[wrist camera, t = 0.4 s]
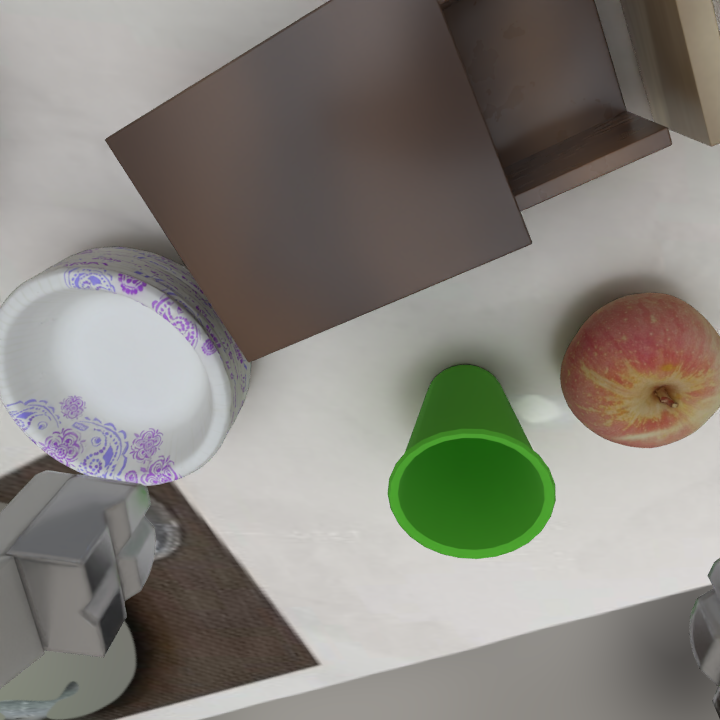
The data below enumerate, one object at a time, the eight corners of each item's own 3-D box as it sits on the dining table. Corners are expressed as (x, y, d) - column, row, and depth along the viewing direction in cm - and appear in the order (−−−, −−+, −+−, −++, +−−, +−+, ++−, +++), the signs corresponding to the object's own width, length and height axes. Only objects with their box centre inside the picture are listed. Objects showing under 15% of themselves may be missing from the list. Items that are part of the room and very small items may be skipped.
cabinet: (424, -30, 31) (417, -54, 22) (512, 195, 35) (533, 244, 27) (184, 115, 36) (103, 139, 27) (288, 295, 40) (248, 363, 32)
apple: (528, 367, 41) (546, 435, 34) (602, 251, 36) (639, 302, 29) (642, 415, 41) (682, 492, 34) (728, 307, 37) (794, 369, 30)
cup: (467, 466, 45) (474, 583, 36) (374, 397, 43) (354, 500, 34) (558, 391, 41) (593, 499, 32) (460, 311, 39) (465, 400, 30)
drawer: (715, -189, 26) (812, -270, 19) (767, 72, 30) (861, 82, 23) (337, 36, 32) (308, 35, 25) (425, 227, 36) (420, 272, 29)
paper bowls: (265, 246, 39) (226, 292, 32) (261, 435, 46) (229, 506, 39) (41, 216, 40) (-44, 254, 33) (72, 406, 47) (8, 470, 40)
